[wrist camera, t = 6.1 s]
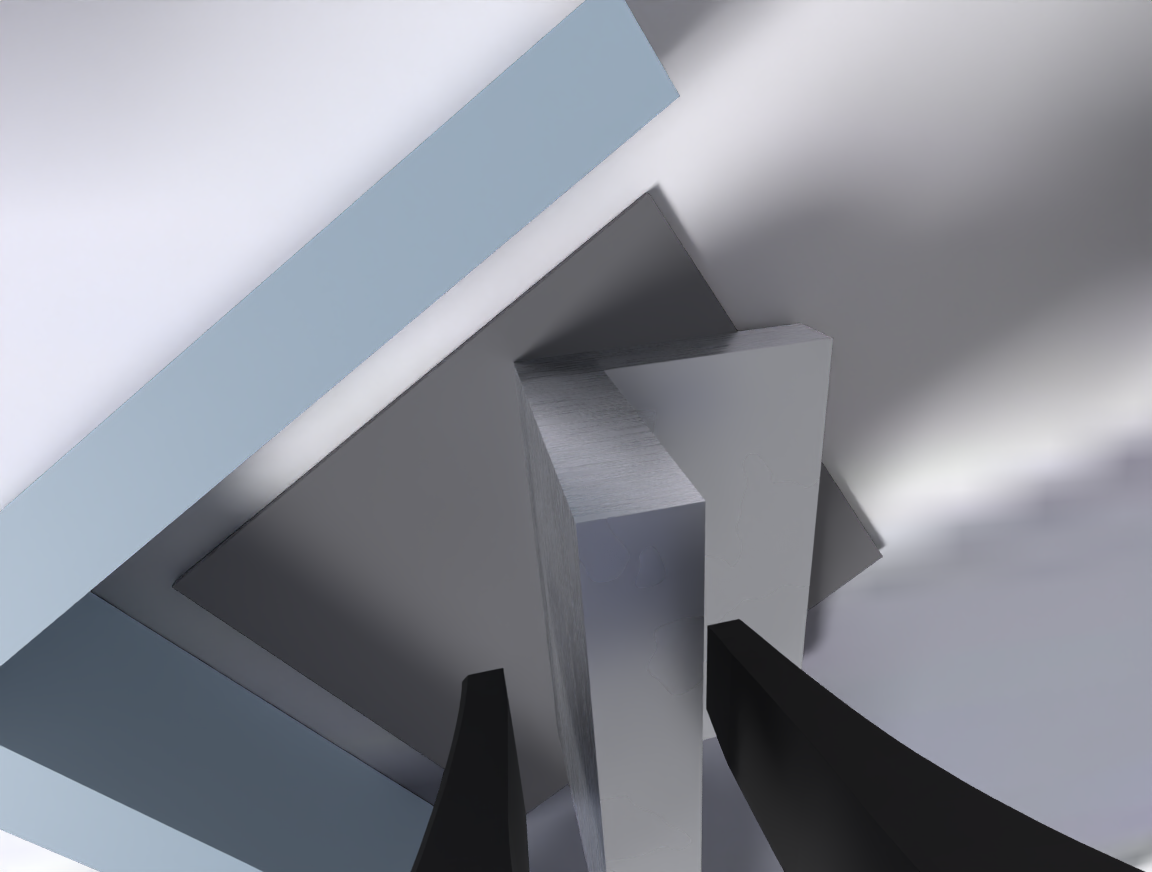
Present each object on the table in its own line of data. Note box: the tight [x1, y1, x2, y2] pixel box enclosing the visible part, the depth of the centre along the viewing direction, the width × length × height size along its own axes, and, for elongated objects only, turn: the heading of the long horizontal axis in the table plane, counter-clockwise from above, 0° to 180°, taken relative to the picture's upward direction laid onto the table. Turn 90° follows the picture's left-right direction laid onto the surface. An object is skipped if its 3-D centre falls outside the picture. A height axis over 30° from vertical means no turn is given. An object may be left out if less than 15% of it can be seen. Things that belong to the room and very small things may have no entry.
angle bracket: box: [513, 323, 833, 872], centre depth 12 cm, size 10×6×6 cm, turn 4°
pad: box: [172, 193, 883, 814], centre depth 15 cm, size 11×12×1 cm
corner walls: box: [0, 0, 680, 872], centre depth 13 cm, size 14×15×4 cm
